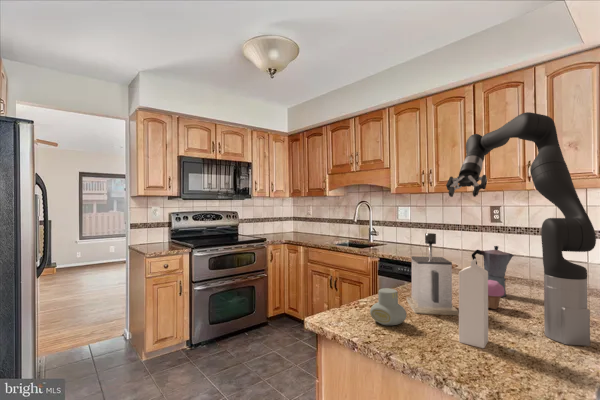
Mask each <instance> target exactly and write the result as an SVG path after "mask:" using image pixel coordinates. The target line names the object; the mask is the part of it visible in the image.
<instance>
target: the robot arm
mask: <svg viewBox="0 0 600 400" xmlns="http://www.w3.org/2000/svg"><path fill="white" fill-rule="evenodd" d="M556 127H557V126H556V123H555V121H554V119H553V118H552V117H551V116H548V115H544V114H541V113H536V112H527V111H526V112H523V113H520V114H519V115H517V116H515V117H513V118H512V119H511V120H510V121H508V122H507V123H505V124H504V125H502V126H501V127H499V128H497V129H495V130H493V131H490V132H488V133H487V132H486V133H484V135H481V134H478V133H475V134H472V135H470V136H469V137H468V138H467V140H466V143H465V155H466V156H465V157H464V160H463V162H462V164H461V167H460V171H458V172H459V173H458V176H457V177H453V176H450V177H449V178H448V180H447V182H446V183H445V186H446V190H447V191H448V192H447V193H448V196H449V197H451V198H453V197H454V195H455V191H457V190H459V189H460V188H462V187H463V188H465V187H473V190H472V196H473V198H475V197H477V196H478V195H479V192H480V190H486V188H487V182H488V178H487V175H486V174H483V175H482V176H481V172H482V169H483V164H484V160H485V157H486V156H487V155H488V154H489V153H490V152H491V151H492V150H494V149H498V148H500V147H503V146H504V145H507V144H508V142H509V141H510V139H513V138H514V139H515V138H517V139H520V140H524V141H529V142H532V143H534V144H535V146H536V148H537V152H538V153H537V155H536V156H535V158H534V160H533V162H531V166H530V169H529V170H530V171H529V172H530V175H531V179H532V183H533V186H534V187H535V190H536V191H537V192H539V194H540V195H542V196H543V197H544V198H545V199H547V201H549V202H551V204H553V205H554V206H556V208H558V210H560V211H561V213H562V214H563V216H564V217H547V218H546V219H545V220H544V221H543V222H542V223H541V227H540V228H541V229H540V231H541V232H540V234H541V249H542V250H541V251H542V265H543V281H544V282H543V299H544V300H543V301H544V302H543V308H544V309H543V310H544V311H543V313H544V314H543V315H544V317H543V319H544V324H543V325H544V331H543V332H544V335H545V336H546V337H547V338H548V339H551V340H552V341H555V342H559V343H562V344H564V345H570V346H573V345H574V346H586V347H587V346H588V347H590V346H591V312H590V309H589V308H588V270H587V268H586V267H584V266H582V265H579V264H578V263H577V264H576V263H574V262H571V261H569V260H567V259H566V258H565V257H564V254H563V252H573V253H574V252H575V253H577V252H578V253H584V252H585V253H588V252H591V251H593V250H594V249H595V247H596V244H597V235H596V231H595V227H594V225H593V224H592V221H591V219H590V217H589V216H588V213H587V211H586V209H585V208H584V206H583V203H582V201H581V200H580V198H579V196H578V193H577V191H576V188H575V185H574V183H573V179H572V176H571V173H570V170H569V167H568V165H567V163H566V161H565V160H566V159H565V158H564V155H563V152H562V150H561V146H560V142H559V138H558V133H557V129H556ZM478 182H480V183H478Z"/></svg>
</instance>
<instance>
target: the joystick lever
mask: <svg viewBox="0 0 600 400" xmlns="http://www.w3.org/2000/svg"><path fill="white" fill-rule="evenodd" d="M424 243H425V244H427V245H428V257H429V260H432V257H433V245H436V244H437V233H432V232H431V233H430V232H428V233H427V232H425V233H424Z"/></svg>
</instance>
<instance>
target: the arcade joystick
mask: <svg viewBox="0 0 600 400" xmlns="http://www.w3.org/2000/svg"><path fill="white" fill-rule="evenodd" d="M452 278H453V262H451V261H450V260H448V259H446V258H444V257H443V256H432V260H429V256H411V296H406V302H407V304H408V306H410V309H411V310H412V311H413V313H414V314H423V315H441V316H442V315H444V316H445V315H446V316H459V309H457V308H456V307H454V306H453V282H452V281H453V279H452Z"/></svg>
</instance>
